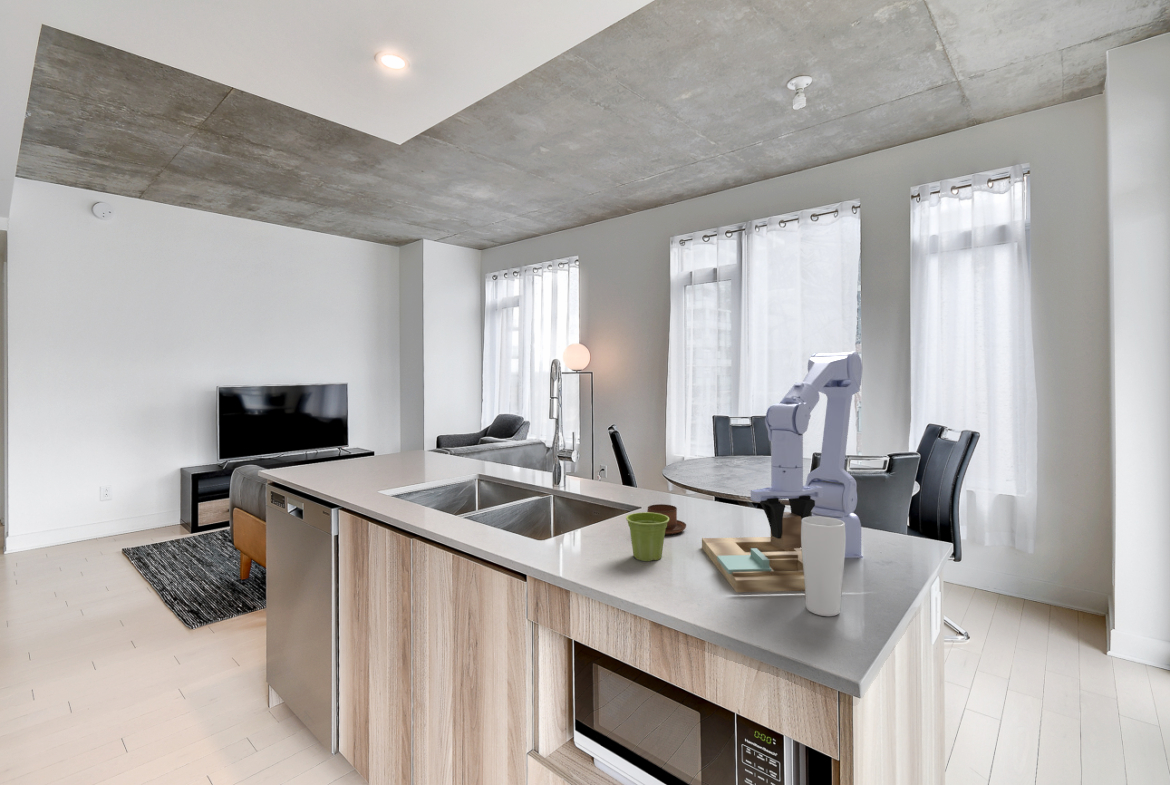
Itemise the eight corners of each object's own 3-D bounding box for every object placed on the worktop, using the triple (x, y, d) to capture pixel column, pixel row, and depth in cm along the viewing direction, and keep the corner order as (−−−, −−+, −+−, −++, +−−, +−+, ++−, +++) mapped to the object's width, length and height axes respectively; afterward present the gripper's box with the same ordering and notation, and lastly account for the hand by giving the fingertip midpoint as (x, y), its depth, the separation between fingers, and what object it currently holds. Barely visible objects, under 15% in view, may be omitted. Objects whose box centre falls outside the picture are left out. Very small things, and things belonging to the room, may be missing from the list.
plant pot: (674, 553, 122) (674, 514, 121) (662, 566, 113) (662, 525, 113) (634, 548, 126) (634, 510, 125) (619, 561, 117) (619, 520, 117)
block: (788, 542, 109) (788, 511, 109) (801, 547, 105) (801, 516, 105) (770, 543, 108) (770, 513, 108) (782, 549, 104) (782, 518, 104)
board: (784, 547, 125) (784, 534, 125) (840, 591, 99) (840, 574, 99) (701, 548, 125) (701, 535, 125) (736, 593, 99) (736, 577, 99)
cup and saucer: (629, 532, 139) (629, 508, 139) (655, 522, 148) (655, 500, 148) (670, 541, 131) (669, 515, 131) (695, 530, 140) (694, 506, 140)
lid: (756, 558, 110) (756, 547, 110) (771, 573, 102) (771, 560, 102) (717, 559, 110) (717, 548, 110) (728, 573, 102) (728, 561, 102)
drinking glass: (793, 603, 94) (793, 516, 94) (831, 601, 95) (831, 515, 94) (813, 620, 87) (813, 527, 87) (854, 618, 88) (854, 525, 88)
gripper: (806, 461, 111) (806, 527, 112) (742, 464, 108) (742, 533, 108) (830, 466, 104) (830, 537, 105) (762, 470, 101) (762, 543, 101)
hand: (787, 536), depth 106 cm, fingers closed on block, 4 cm apart
